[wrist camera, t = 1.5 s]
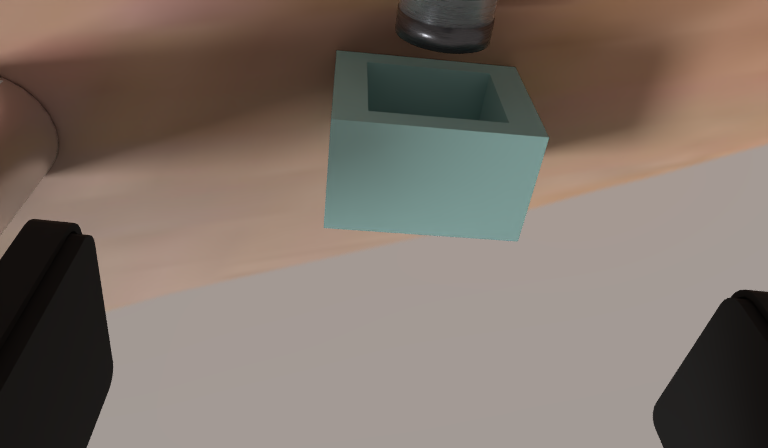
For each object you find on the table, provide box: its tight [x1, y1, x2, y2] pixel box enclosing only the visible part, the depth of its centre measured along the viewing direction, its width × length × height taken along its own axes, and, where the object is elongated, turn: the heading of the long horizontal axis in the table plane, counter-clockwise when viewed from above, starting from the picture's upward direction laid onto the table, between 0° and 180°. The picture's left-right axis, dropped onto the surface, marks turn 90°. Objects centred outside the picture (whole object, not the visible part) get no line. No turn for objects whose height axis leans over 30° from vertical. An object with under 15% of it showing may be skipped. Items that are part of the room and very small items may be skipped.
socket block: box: [324, 50, 549, 241], centre depth 30 cm, size 6×9×7 cm, turn 84°
